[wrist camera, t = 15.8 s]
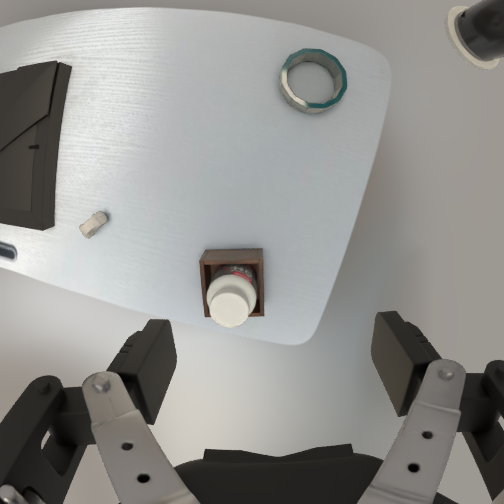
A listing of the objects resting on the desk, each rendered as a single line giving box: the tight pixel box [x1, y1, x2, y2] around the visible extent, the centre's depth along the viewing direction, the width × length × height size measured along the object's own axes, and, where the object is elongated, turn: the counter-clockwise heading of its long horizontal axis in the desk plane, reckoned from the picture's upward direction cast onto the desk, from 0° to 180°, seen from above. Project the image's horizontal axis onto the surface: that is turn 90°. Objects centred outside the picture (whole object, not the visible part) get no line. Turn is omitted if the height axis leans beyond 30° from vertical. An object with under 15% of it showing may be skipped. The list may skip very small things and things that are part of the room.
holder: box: [199, 248, 264, 317], centre depth 39 cm, size 7×7×4 cm
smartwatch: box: [79, 211, 107, 238], centre depth 38 cm, size 4×2×4 cm, turn 123°
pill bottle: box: [207, 264, 257, 328], centre depth 36 cm, size 5×5×10 cm
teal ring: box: [279, 48, 347, 113], centre depth 33 cm, size 7×7×4 cm
